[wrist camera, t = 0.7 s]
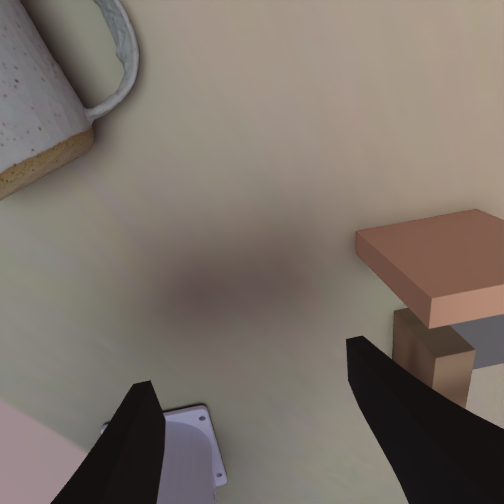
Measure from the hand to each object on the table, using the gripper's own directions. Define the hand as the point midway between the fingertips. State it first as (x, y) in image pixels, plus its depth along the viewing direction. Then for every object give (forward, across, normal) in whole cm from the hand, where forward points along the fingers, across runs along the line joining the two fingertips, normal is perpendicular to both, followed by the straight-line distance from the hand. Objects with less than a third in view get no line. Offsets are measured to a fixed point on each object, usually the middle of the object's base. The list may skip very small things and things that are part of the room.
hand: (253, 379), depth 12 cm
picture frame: (+10, -12, 0) cm, 15 cm away
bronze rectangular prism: (+10, -12, +10) cm, 19 cm away
